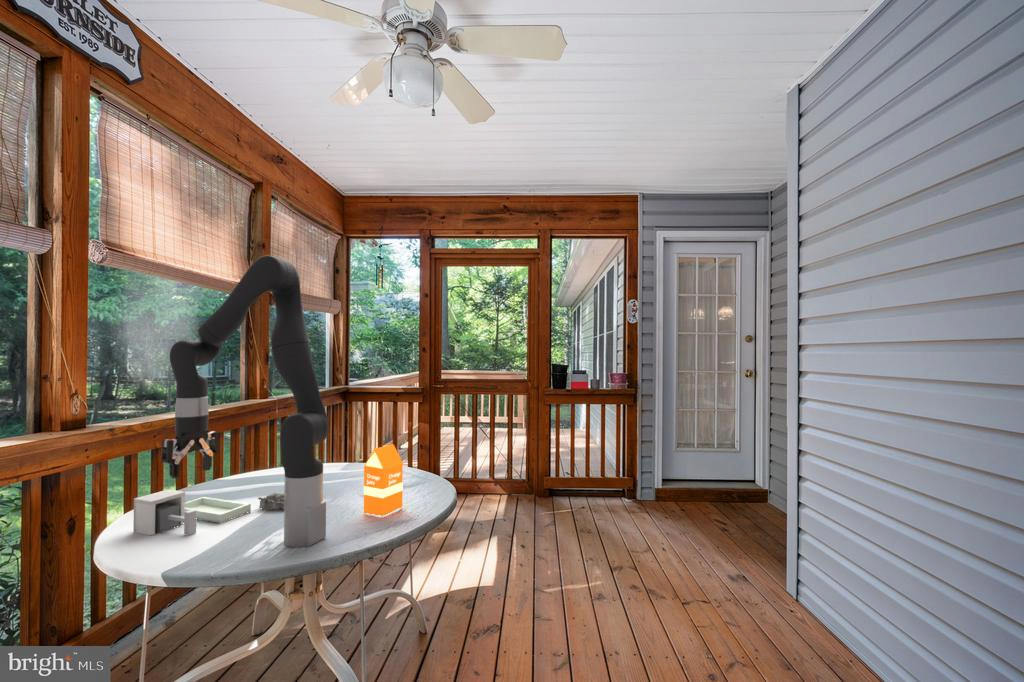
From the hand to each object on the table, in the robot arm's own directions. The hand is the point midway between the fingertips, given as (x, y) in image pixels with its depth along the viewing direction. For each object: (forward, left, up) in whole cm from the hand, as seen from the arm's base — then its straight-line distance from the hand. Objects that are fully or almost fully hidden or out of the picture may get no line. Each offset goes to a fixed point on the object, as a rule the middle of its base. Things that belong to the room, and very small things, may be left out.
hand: (191, 473), depth 127 cm
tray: (+9, -13, -16) cm, 22 cm away
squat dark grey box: (+7, 0, -16) cm, 17 cm away
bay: (+12, 0, -16) cm, 20 cm away
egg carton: (-5, -25, -16) cm, 30 cm away
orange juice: (-39, -32, -16) cm, 53 cm away
